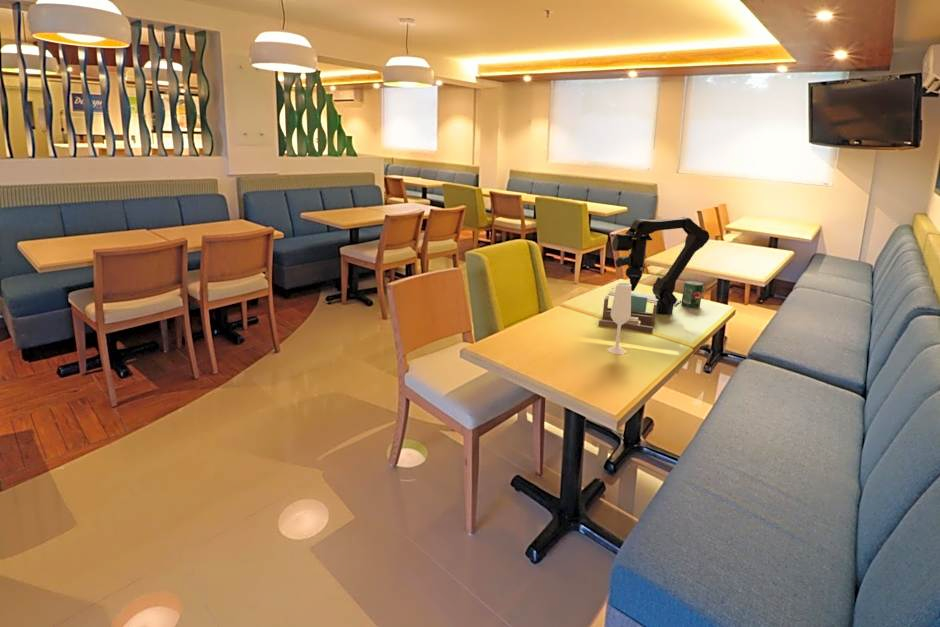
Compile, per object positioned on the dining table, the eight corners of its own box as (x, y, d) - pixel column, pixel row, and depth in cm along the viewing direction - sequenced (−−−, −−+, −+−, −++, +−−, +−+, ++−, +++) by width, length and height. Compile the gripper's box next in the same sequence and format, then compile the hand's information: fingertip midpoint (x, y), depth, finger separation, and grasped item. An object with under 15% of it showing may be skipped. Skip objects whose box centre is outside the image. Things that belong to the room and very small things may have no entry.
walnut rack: (604, 315, 226) (607, 294, 223) (654, 321, 219) (657, 300, 217) (598, 328, 210) (600, 305, 207) (651, 335, 203) (654, 312, 201)
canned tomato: (682, 302, 247) (685, 279, 244) (700, 305, 244) (704, 281, 240) (680, 307, 240) (683, 283, 237) (699, 309, 237) (702, 285, 234)
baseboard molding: (673, 309, 240) (680, 303, 249) (674, 302, 239) (681, 297, 248) (607, 296, 256) (616, 291, 266) (607, 290, 256) (616, 285, 265)
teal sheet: (615, 313, 229) (617, 293, 227) (644, 317, 225) (647, 296, 223) (614, 314, 228) (617, 294, 225) (644, 318, 224) (647, 297, 221)
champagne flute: (630, 352, 187) (638, 285, 179) (616, 355, 183) (624, 287, 176) (615, 346, 192) (623, 280, 185) (602, 349, 189) (609, 283, 181)
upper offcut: (616, 318, 213) (616, 315, 213) (637, 320, 211) (638, 317, 211) (616, 322, 208) (616, 319, 208) (638, 324, 207) (638, 321, 206)
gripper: (620, 245, 229) (616, 280, 234) (614, 252, 212) (610, 291, 217) (647, 247, 225) (643, 284, 230) (644, 255, 209) (639, 294, 213)
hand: (633, 288), depth 223 cm, fingers open, 9 cm apart
